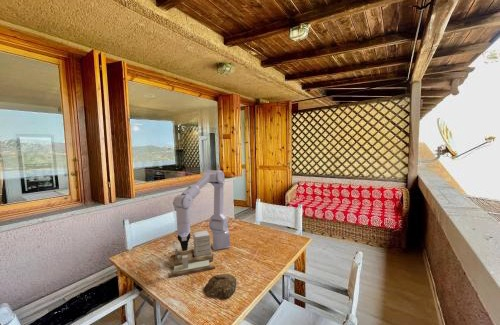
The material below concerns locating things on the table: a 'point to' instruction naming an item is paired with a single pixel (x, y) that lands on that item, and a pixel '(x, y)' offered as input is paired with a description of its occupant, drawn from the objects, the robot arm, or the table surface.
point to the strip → (190, 265)
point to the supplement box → (201, 243)
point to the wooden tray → (190, 256)
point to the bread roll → (221, 286)
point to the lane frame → (190, 270)
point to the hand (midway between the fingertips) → (184, 250)
